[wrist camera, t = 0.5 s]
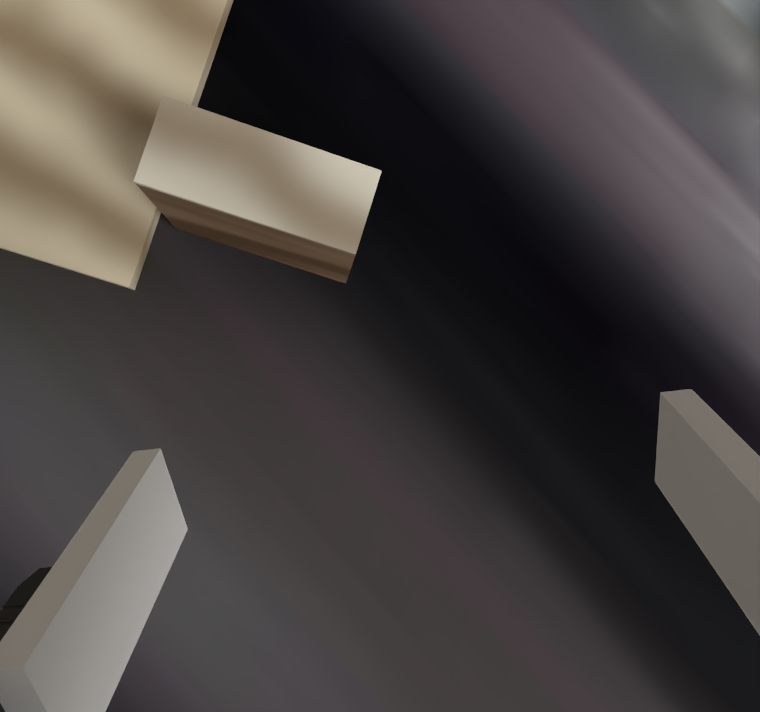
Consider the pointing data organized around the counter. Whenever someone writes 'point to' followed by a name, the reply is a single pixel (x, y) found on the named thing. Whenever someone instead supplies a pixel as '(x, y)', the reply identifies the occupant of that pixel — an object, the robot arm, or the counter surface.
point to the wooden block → (256, 189)
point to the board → (91, 122)
